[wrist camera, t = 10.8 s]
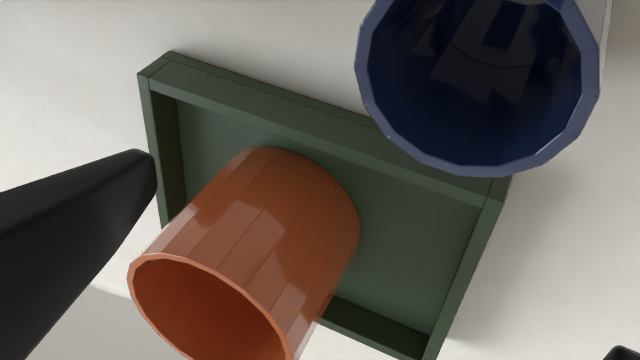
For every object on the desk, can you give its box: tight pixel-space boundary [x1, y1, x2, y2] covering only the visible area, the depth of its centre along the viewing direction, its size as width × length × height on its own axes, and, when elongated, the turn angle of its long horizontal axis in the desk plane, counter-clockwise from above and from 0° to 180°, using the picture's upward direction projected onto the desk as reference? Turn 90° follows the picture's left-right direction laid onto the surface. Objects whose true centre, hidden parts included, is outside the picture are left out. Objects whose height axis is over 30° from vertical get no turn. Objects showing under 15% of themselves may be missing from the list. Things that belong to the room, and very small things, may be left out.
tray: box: [137, 51, 513, 360], centre depth 25 cm, size 15×12×2 cm
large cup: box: [127, 146, 361, 360], centre depth 24 cm, size 7×7×7 cm
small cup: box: [354, 0, 613, 177], centre depth 15 cm, size 5×5×6 cm
